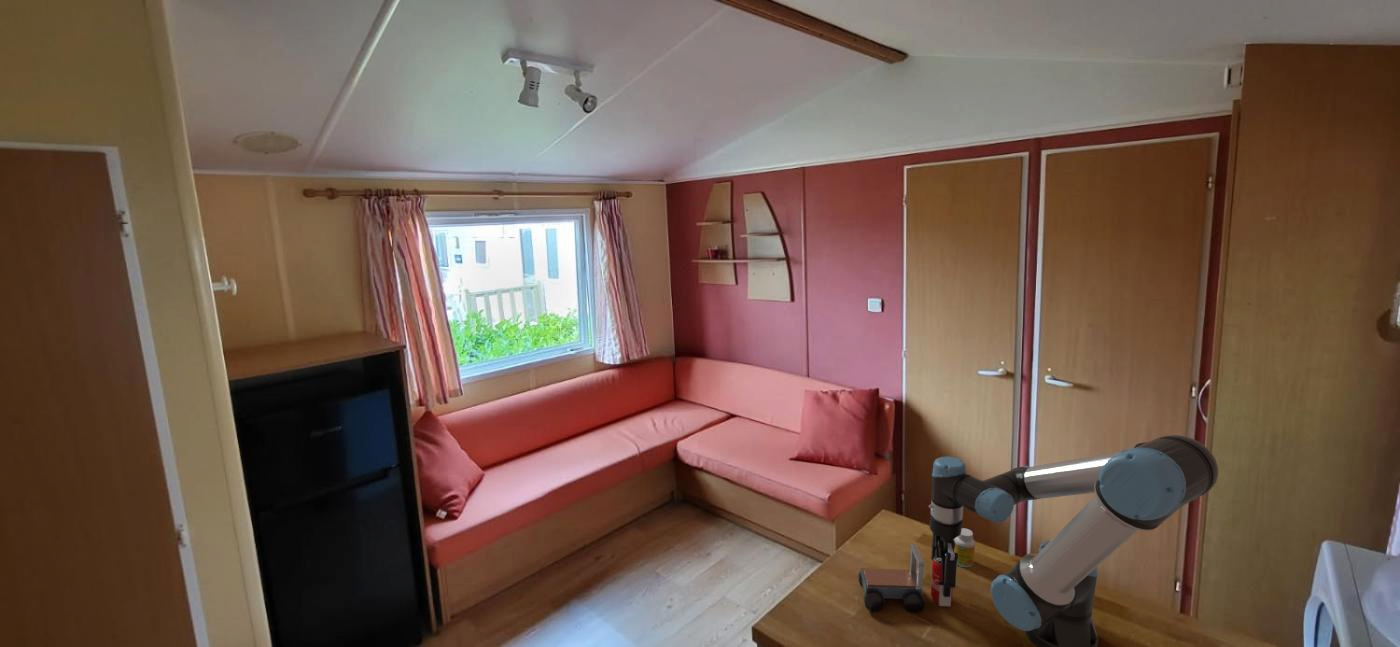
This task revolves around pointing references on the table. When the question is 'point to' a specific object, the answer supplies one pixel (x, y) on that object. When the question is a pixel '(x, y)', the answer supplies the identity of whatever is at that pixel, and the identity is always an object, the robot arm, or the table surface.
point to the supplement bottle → (965, 548)
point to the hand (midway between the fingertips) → (941, 597)
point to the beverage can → (936, 579)
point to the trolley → (894, 585)
